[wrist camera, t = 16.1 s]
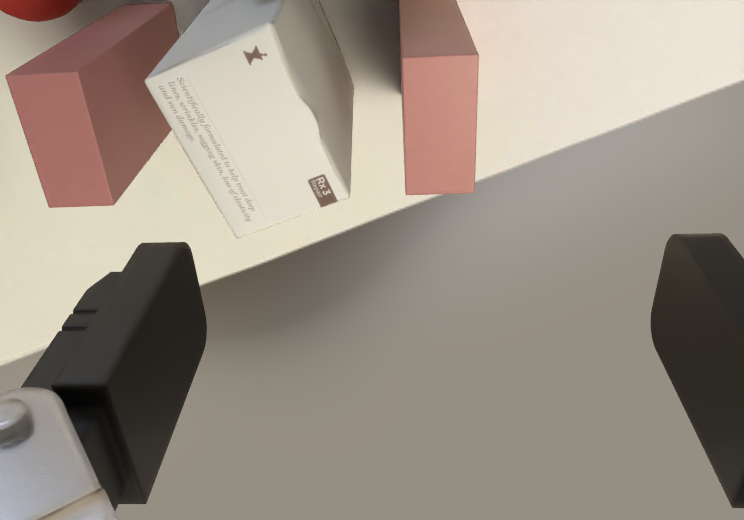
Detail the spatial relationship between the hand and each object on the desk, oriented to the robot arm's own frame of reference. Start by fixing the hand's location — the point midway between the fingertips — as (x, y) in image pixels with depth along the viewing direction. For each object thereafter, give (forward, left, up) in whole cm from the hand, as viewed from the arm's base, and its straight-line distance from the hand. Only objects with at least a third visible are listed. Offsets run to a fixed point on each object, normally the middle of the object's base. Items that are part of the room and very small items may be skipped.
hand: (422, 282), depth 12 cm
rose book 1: (+4, -15, -31) cm, 35 cm away
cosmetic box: (+4, -7, -31) cm, 32 cm away
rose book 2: (+4, +1, -31) cm, 31 cm away
